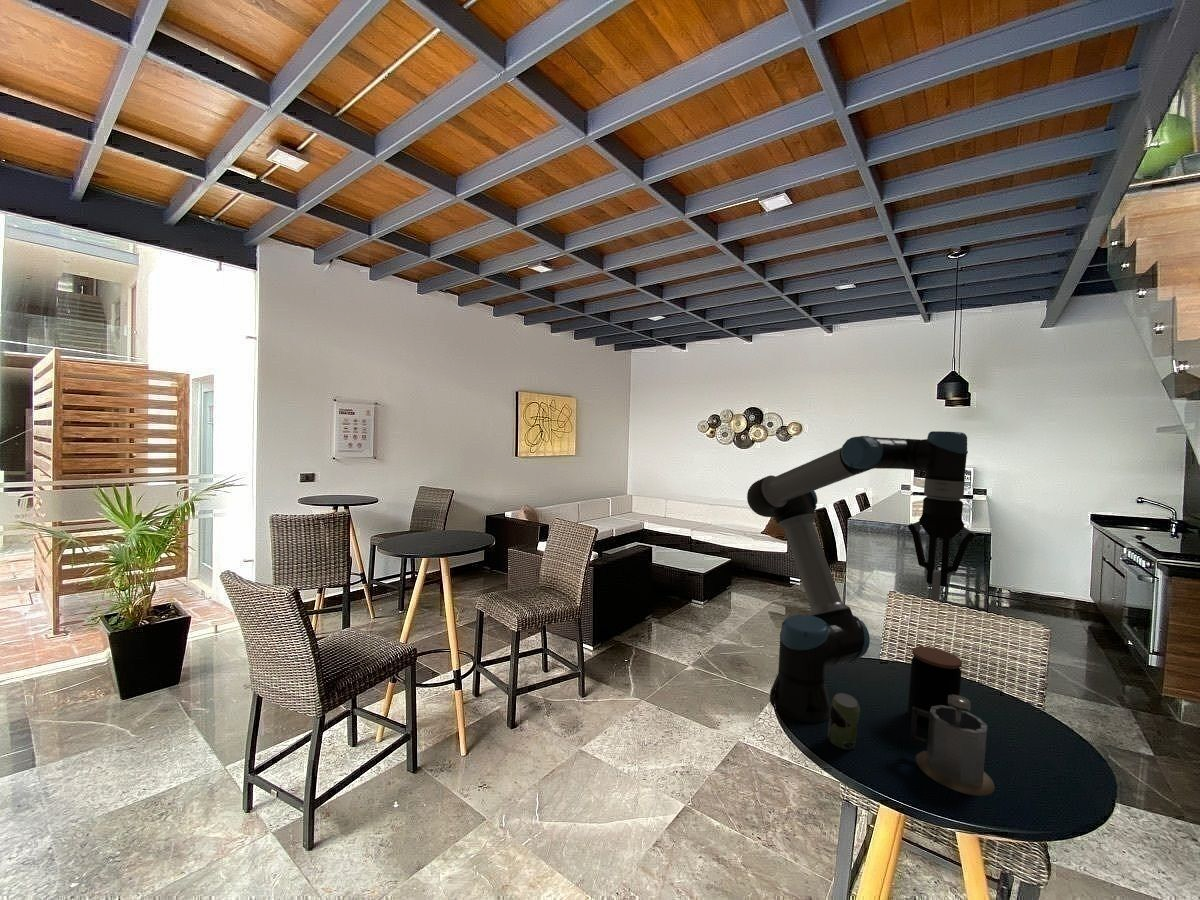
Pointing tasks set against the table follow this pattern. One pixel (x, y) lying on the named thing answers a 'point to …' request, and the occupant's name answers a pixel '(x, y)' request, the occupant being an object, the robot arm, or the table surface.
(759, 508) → the robot arm
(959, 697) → the plunger
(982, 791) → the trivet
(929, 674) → the coffee jar
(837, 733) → the beverage can
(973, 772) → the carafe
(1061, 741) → the table surface
